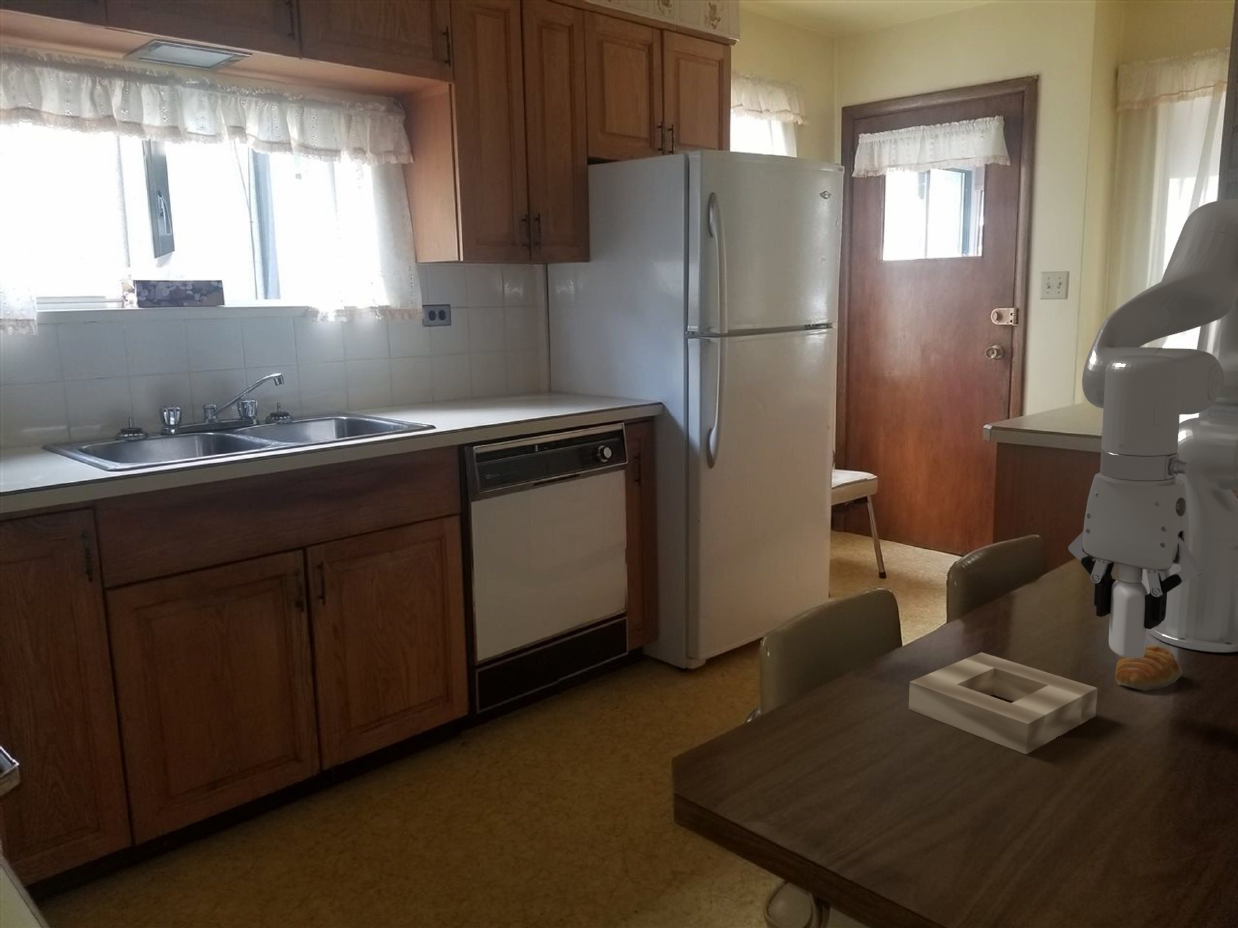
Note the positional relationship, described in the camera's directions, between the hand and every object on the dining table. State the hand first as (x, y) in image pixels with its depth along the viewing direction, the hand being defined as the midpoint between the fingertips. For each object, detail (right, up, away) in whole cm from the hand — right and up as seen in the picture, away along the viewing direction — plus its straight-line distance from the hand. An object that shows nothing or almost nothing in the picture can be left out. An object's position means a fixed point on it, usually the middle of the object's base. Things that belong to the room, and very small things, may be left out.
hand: (1128, 618), depth 111 cm
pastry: (+8, -10, +12) cm, 18 cm away
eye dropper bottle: (0, -4, +1) cm, 4 cm away
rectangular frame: (-14, -12, +2) cm, 18 cm away
